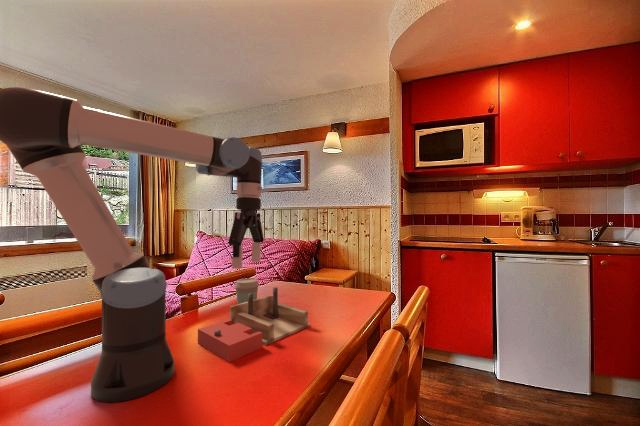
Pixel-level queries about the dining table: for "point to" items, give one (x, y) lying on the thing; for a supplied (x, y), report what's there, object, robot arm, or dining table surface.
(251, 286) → the coffee cup
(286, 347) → the dining table surface
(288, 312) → the carcass
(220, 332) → the red rectangular block
